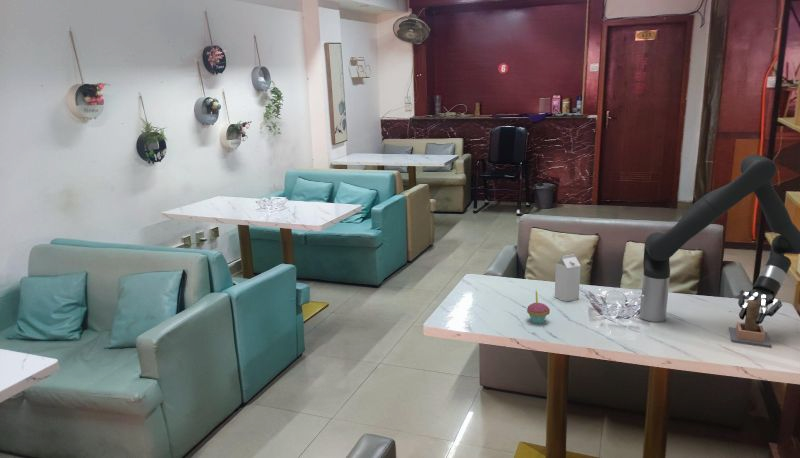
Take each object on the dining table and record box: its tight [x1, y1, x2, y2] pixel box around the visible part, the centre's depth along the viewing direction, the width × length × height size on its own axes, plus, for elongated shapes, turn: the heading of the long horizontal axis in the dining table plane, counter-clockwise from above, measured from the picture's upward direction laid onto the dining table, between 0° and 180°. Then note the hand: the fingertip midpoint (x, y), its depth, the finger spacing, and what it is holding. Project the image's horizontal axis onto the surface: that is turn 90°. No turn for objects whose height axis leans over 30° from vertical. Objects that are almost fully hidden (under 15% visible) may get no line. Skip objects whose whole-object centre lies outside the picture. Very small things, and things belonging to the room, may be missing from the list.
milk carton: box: [554, 253, 582, 303], centre depth 251 cm, size 7×7×19 cm
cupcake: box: [526, 290, 551, 324], centre depth 229 cm, size 9×8×12 cm
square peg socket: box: [728, 321, 772, 348], centre depth 212 cm, size 12×12×4 cm
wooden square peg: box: [744, 298, 761, 332], centre depth 211 cm, size 4×4×12 cm
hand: (749, 320), depth 210 cm, fingers closed on wooden square peg, 4 cm apart
